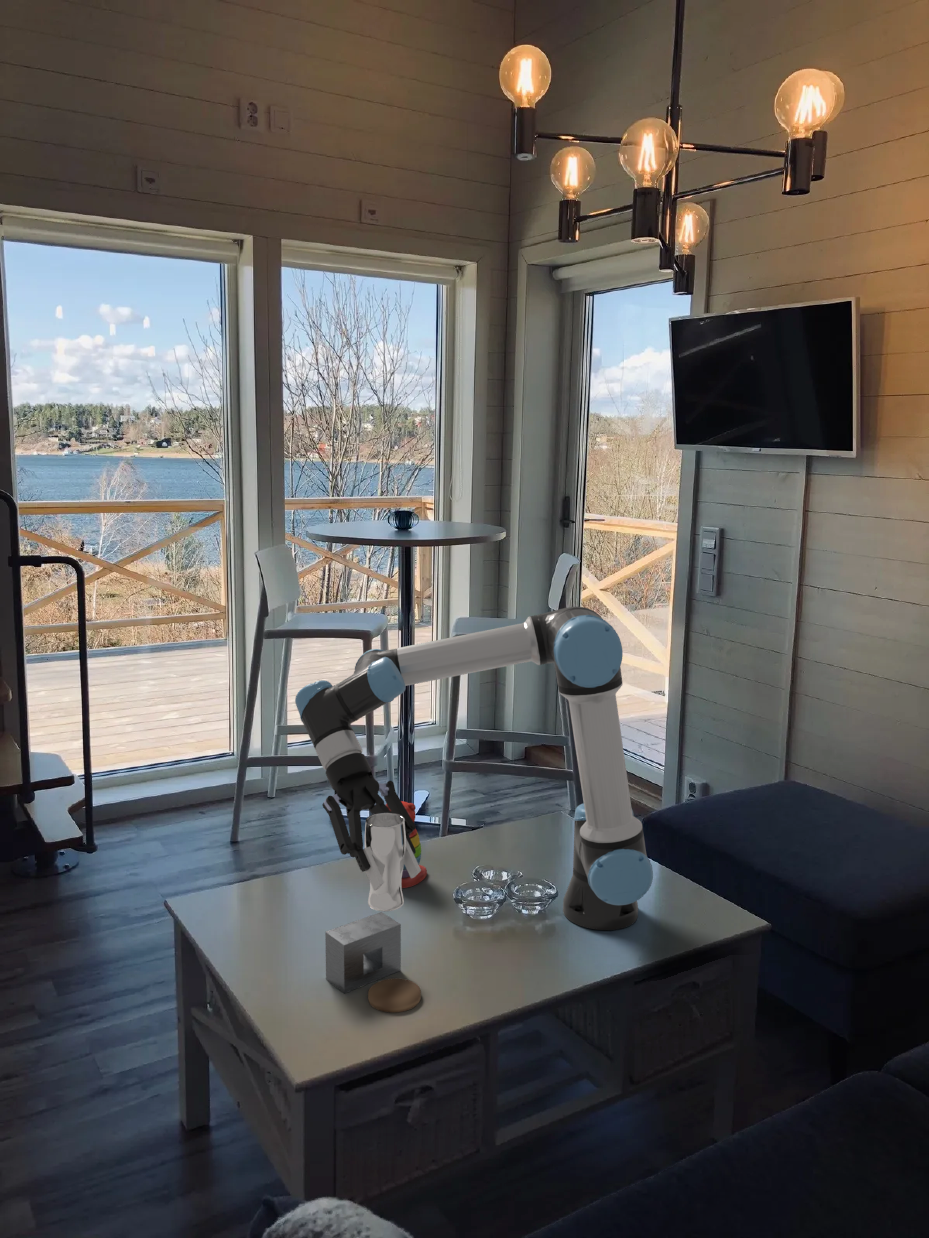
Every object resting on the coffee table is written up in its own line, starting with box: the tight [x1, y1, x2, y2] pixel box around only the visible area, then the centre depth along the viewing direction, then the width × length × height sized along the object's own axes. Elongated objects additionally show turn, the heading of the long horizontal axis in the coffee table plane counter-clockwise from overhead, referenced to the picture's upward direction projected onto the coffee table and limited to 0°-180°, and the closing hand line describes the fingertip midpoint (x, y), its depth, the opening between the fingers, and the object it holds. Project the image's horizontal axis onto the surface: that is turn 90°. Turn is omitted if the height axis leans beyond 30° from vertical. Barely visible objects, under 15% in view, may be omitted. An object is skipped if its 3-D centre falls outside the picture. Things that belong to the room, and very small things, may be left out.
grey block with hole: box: [324, 911, 402, 994], centre depth 173 cm, size 6×12×9 cm, turn 130°
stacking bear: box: [385, 800, 428, 889], centre depth 211 cm, size 11×10×18 cm
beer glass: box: [364, 813, 406, 912], centre depth 164 cm, size 7×7×15 cm
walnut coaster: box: [367, 977, 422, 1014], centre depth 166 cm, size 9×9×1 cm
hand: (397, 880), depth 161 cm, fingers closed on beer glass, 7 cm apart
